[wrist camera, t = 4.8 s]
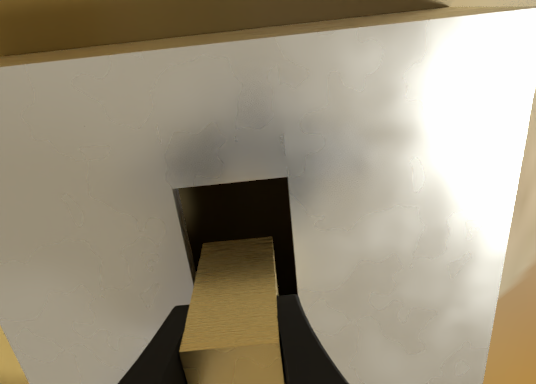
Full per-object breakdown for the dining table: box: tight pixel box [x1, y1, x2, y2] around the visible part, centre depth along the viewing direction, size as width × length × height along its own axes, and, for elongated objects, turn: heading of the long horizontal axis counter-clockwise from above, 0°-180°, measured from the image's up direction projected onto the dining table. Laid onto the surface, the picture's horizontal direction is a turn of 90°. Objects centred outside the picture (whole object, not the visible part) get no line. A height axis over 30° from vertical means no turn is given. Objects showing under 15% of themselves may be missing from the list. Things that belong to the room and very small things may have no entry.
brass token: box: [179, 236, 285, 384], centre depth 13 cm, size 5×2×5 cm, turn 6°
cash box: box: [0, 7, 536, 384], centre depth 18 cm, size 16×20×6 cm
